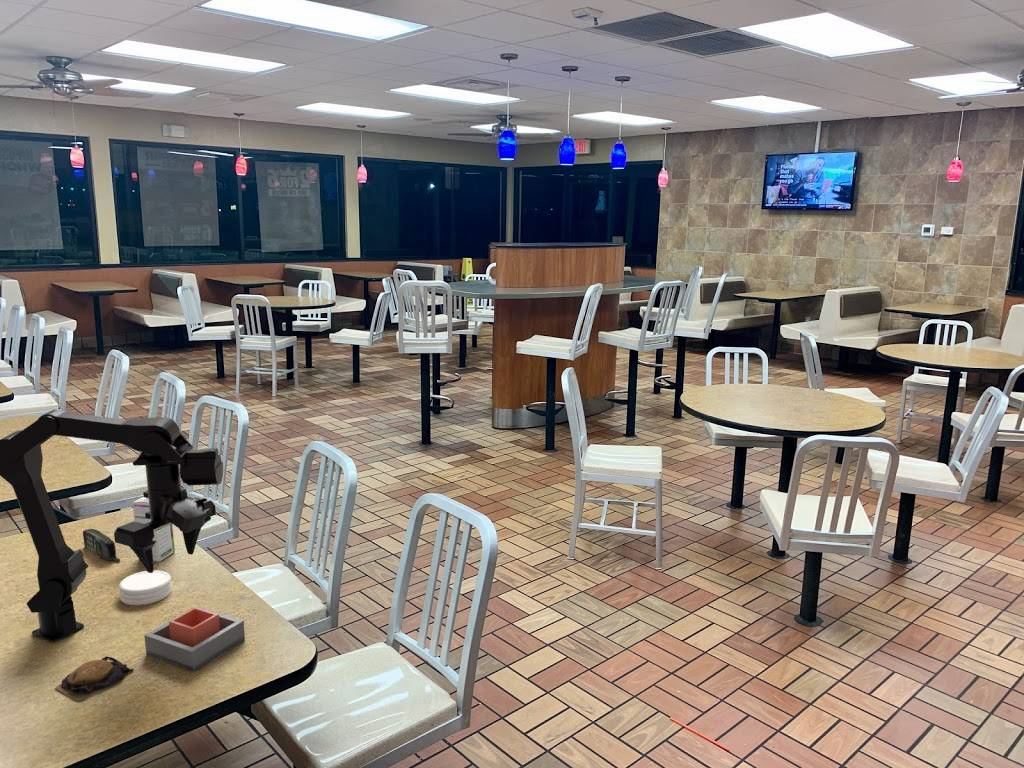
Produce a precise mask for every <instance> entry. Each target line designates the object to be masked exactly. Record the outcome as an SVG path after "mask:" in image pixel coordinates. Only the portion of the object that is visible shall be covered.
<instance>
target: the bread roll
mask: <svg viewBox="0 0 1024 768" xmlns="http://www.w3.org/2000/svg"><path fill="white" fill-rule="evenodd" d="M134 670H135V669H134V668H129V667H128V665H127V664H125V663H124V664H123V663H122V662H121V661H120V660H118V659H115V658H114V657H112V656H107V655H106V656H104V657H103V658H100V659H94V660H93V659H92V660H88V661H86V662H84V663H82V664H81V665H80V666H78V667H77V668H76V669H74V670H73V671H72V672H70V673H69V674H67V675H66V676H65V678H63V679H62V680H61V683H60V684H58V685H56V686H55V688H54V690H55V691H57V692H58V693H60V694H62V695H64V696H66V697H67V698H70V699H71V700H73V701H75V702H78V703H80V702H83V701H85V700H87V699H90V698H91V697H93V696H96V695H97V694H99V693H102V692H104V691H105V690H107V689H108V688H112V687H113V686H115V685H116V684H118V683H119V682H122V681H123V680H125V679H127V678H129V676H131V675H132V673H134V672H135V671H134Z"/></svg>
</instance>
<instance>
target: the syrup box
mask: <svg viewBox="0 0 1024 768" xmlns="http://www.w3.org/2000/svg"><path fill="white" fill-rule="evenodd" d="M132 510H133V511H132V512H133V519H134V520H133V521H135V522H139V523H143V524H146V523H148V522H151V519H148V518H146V517H145V513H146V512H149V511H150V509H149V499H148V498H144V496H142V497H141V498H139V499H137V500H134V501H133V502H132ZM174 537H175V536H174V530H173V524H171V525H169V526H166V527H164V528H161V529H159V530H156V531H154V538H153V539H152V541H155V542H156V543H155V544H154V546H153V547H152V554H153V562H158V563H160V562H162V560H164V559H166V558H167V557H169V556H170V555H172V554H175V552H176V548H175V547H176V546H175V541H174Z"/></svg>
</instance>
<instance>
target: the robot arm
mask: <svg viewBox="0 0 1024 768" xmlns="http://www.w3.org/2000/svg"><path fill="white" fill-rule="evenodd" d="M54 436H60V437H67V438H74V439H76V438H77V439H82V440H91V441H99V442H108V443H113V444H121V445H124V446H126V447H128V448H130V449H132V450H134V451H136V452H140V454H139V455H138V457H137V458H136V459H135V460H134V461H133V462H132V465H133V466H136V467H137V466H145V474H146V485H147V487H146V488H147V490H145V491H143V492H142V494H143V497H144V498H148V499H149V509H150V511H149V512H146V513H145V517H146V518H148V519H151V522H148V523H146V524H143V523H139V522H135V521H134V520H133V521H131V522H128V523H125V524H123V525H120V526H118V527H116V529H115V530H114V532H113V537H114V543H115V544H116V543H117V544H120V545H124V546H125V547H126V546H128V547H129V548H130V549H131V550H132V551H133V553H134V554H135V555H136V557H137V559H138V560H139V561H140V563H141V565H142V566H143V568H144V569H145V571H147V572H149V573H153V570H154V561H153V554H152V547H153V546H154V544H155V543H156V542H155V541H152V539H153V538H154V531H156V530H159V529H161V528H164V527H166V526H169V525H171V524H172V526H173V525H174V527H176V528H178V529H179V531H180V532H181V533H182V537H183V541H184V545H185V549H186V553H187V554H188V555H194V552H195V550H196V545H197V542H198V538H199V535H200V532H201V530H202V527H204V525H206V523H208V522H211V520H212V517H214V516H216V514H217V509H216V504H215V502H213V501H212V499H211V498H209V497H207V496H203V497H202V498H201V497H196V496H195V497H193V498H190V499H189V497H188V492H187V489H186V488H183V487H182V485H181V481H182V484H185V485H187V486H213V485H214V486H215V485H217V486H219V485H221V484H222V482H223V475H224V463H223V461H222V457H221V454H219V449H218V447H216V448H214V447H213V448H208V449H207V448H206V449H194V446H193V445H192V443H191V442H190V441H189V440H188V439H187V438H186V437H185V436H184V435H183V433H181V430H180V427H179V425H178V424H177V422H175V420H173V418H169V417H166V416H163V417H161V416H160V417H145V418H137V419H136V418H135V419H123V418H115V417H107V416H99V415H91V414H84V413H79V412H78V413H77V412H67V411H64V410H61V409H52V410H50V411H48V412H45V413H44V414H41V415H40V416H39V417H38V419H37V420H35V421H34V422H32V423H31V424H30V425H28V426H27V427H25V428H24V429H22V430H16V431H14V432H12V433H10V434H8V435H5V436H4V437H2V438H1V439H0V477H1V478H2V479H3V480H4V481H6V482H7V483H8V484H9V485H10V486H11V487H12V489H13V492H14V494H15V497H16V500H17V502H18V505H19V507H20V508H19V509H20V511H21V512H22V516H23V518H24V521H25V523H26V527H27V529H28V532H29V535H30V537H31V540H32V542H33V545H34V549H35V550H36V553H37V555H38V556H37V557H38V558H37V559H38V560H37V562H38V563H37V570H36V577H37V583H38V588H39V590H38V591H37V592H36V593H35V594H33V596H32V597H30V599H29V600H28V601H27V602H26V606H27V607H28V609H29V611H30V613H33V614H34V613H37V618H38V625H39V627H38V628H36V629H33V630H32V631H31V634H32V636H35V637H38V638H40V639H43V640H45V641H48V642H51V643H55V642H57V641H58V640H61V639H62V638H65V637H66V636H69V635H71V634H73V633H75V632H76V631H79V630H81V629H83V628H85V625H84V623H82V622H78V621H77V619H76V613H75V611H76V610H75V607H74V606H75V604H74V601H73V597H72V595H73V594H74V593H75V592H77V590H78V587H79V586H80V585H81V584H82V583H83V582H84V581H85V578H86V577H87V570H88V568H89V564H88V563H87V562H86V561H85V558H84V553H83V550H82V549H81V548H78V549H77V550H74V549H72V548H71V547H70V546H69V545H67V542H66V541H65V538H64V535H63V532H62V529H61V526H60V525H59V521H58V519H57V516H56V513H55V510H54V507H53V505H52V502H51V500H50V499H51V498H50V496H49V494H48V491H47V488H46V484H45V483H44V480H43V478H42V470H43V460H44V457H43V450H42V445H43V444H44V443H46V442H47V441H49V440H50V439H51V438H52V437H54Z"/></svg>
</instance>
